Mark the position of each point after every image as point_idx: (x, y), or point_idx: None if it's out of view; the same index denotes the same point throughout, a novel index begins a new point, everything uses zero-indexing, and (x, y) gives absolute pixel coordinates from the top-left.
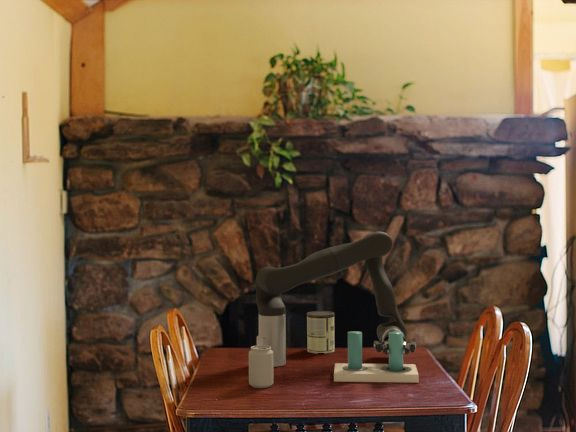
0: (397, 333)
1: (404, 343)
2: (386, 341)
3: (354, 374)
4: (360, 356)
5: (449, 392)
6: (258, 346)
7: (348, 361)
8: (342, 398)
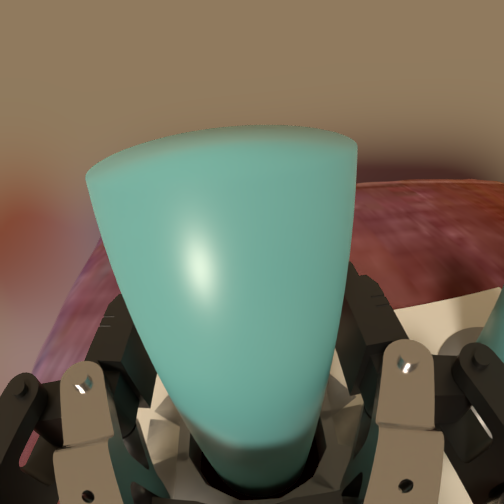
0: (198, 137)
1: (88, 441)
2: (429, 465)
3: (443, 303)
4: (494, 311)
5: (104, 272)
6: None
7: None
8: (377, 213)
